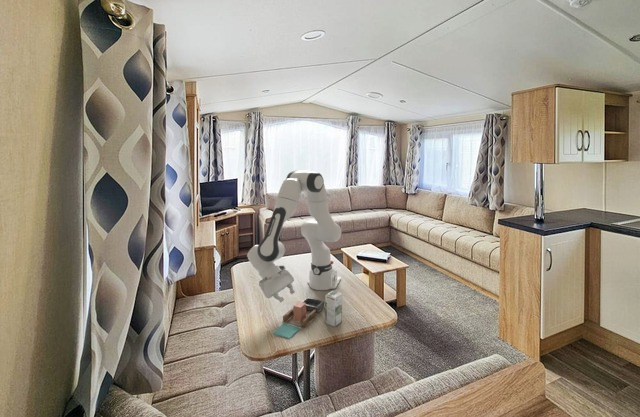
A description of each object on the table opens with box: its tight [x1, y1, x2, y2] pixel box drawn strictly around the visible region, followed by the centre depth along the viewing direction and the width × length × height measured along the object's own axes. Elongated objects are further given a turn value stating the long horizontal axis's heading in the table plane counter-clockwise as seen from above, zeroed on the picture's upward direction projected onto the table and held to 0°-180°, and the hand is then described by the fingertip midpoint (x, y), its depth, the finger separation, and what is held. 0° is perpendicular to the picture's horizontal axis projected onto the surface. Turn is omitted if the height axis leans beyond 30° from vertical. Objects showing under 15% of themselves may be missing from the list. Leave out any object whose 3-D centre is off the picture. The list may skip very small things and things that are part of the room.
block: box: [292, 301, 307, 323], centre depth 148 cm, size 5×4×8 cm
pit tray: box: [301, 296, 325, 314], centre depth 159 cm, size 8×10×3 cm
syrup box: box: [324, 290, 343, 328], centre depth 143 cm, size 6×6×14 cm
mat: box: [271, 322, 302, 340], centre depth 138 cm, size 9×9×1 cm
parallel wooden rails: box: [282, 307, 317, 329], centre depth 148 cm, size 12×11×3 cm
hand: (288, 297), depth 149 cm, fingers open, 8 cm apart
